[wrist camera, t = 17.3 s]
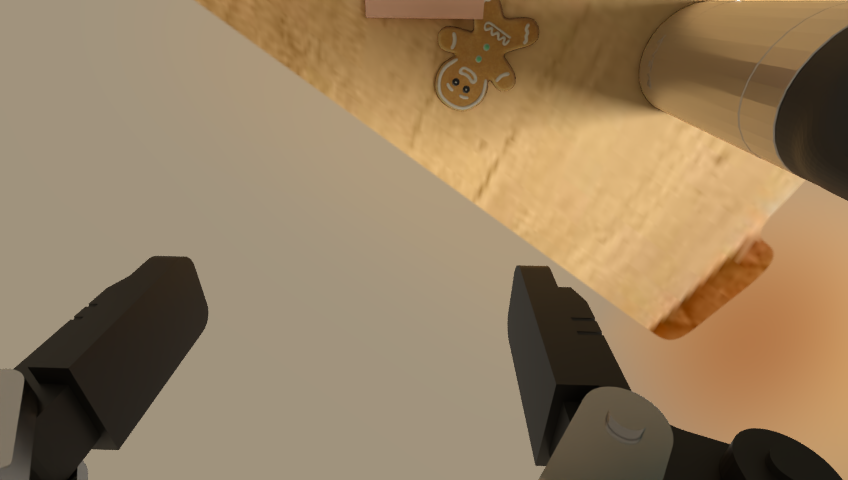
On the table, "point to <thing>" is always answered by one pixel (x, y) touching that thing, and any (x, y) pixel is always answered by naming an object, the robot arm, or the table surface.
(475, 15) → the terracotta coaster
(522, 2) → the table surface
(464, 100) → the cookie
